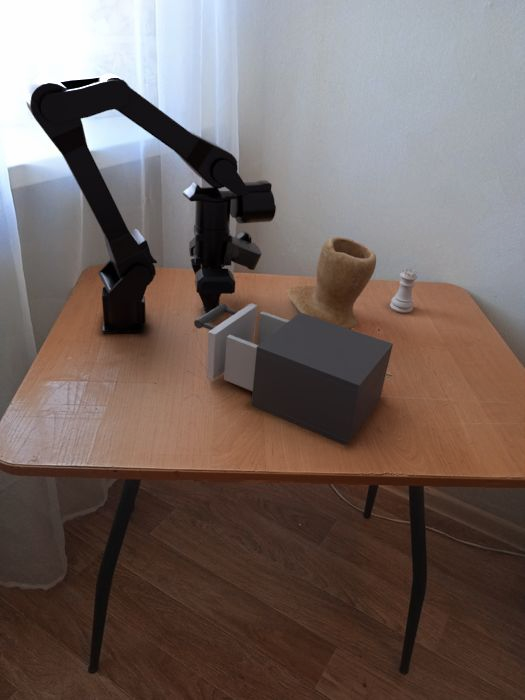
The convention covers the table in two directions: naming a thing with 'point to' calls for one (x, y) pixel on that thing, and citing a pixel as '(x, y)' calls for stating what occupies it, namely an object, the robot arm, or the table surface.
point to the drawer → (236, 342)
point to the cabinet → (320, 376)
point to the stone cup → (336, 282)
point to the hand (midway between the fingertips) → (208, 307)
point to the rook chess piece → (404, 292)
